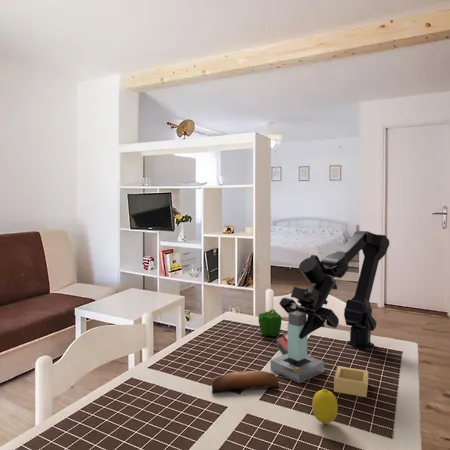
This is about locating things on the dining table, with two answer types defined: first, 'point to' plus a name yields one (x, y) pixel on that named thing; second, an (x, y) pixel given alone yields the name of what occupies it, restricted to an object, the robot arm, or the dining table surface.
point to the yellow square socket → (351, 381)
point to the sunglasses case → (244, 380)
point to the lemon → (324, 406)
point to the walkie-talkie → (283, 344)
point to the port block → (297, 374)
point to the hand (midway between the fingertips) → (294, 336)
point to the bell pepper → (270, 323)
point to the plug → (296, 336)
